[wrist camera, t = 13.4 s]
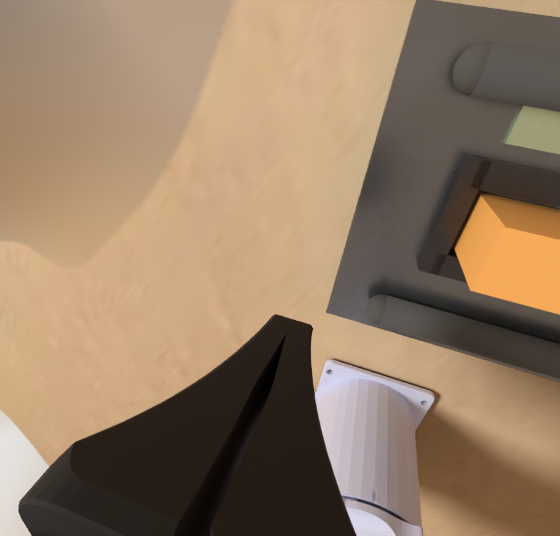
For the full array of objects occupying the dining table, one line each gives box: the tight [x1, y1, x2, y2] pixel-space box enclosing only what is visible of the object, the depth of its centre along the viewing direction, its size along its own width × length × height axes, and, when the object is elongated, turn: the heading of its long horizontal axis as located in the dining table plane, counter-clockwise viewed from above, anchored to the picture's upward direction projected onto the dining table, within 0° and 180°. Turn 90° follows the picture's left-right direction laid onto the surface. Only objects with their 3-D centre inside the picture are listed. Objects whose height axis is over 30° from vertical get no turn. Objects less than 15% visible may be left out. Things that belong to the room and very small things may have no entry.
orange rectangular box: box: [453, 192, 560, 315], centre depth 14 cm, size 3×4×4 cm
